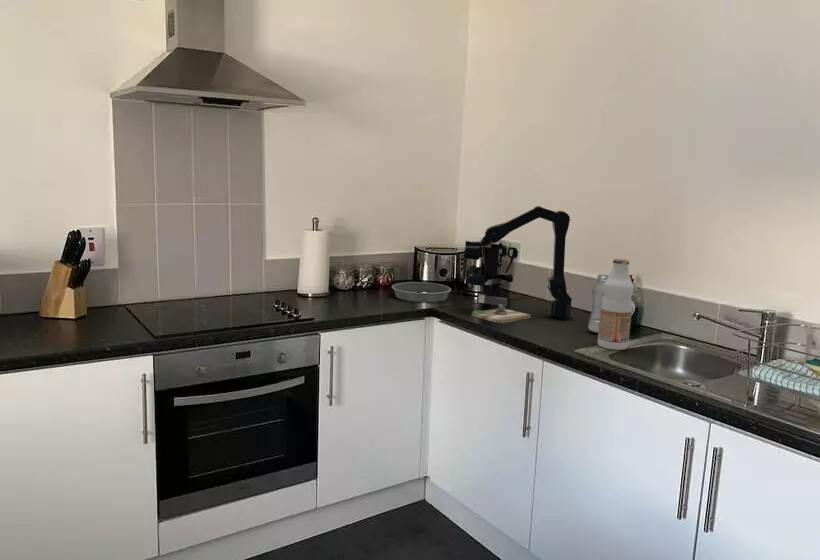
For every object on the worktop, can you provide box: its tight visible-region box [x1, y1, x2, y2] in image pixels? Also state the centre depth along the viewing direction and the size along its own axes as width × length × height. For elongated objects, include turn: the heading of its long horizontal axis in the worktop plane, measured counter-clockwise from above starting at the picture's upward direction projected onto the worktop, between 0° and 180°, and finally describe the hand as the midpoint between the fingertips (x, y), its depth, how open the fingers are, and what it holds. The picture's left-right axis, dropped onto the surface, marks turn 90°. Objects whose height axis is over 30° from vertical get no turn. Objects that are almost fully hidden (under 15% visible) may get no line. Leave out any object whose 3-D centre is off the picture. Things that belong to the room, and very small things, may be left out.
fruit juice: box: [597, 258, 635, 351], centre depth 217 cm, size 9×9×28 cm
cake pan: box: [391, 281, 452, 303], centre depth 283 cm, size 25×25×4 cm
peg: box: [477, 294, 508, 311], centre depth 255 cm, size 11×2×4 cm, turn 60°
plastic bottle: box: [587, 274, 609, 334], centre depth 235 cm, size 6×7×20 cm
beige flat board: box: [470, 308, 531, 324], centre depth 254 cm, size 16×18×2 cm
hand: (489, 301), depth 258 cm, fingers closed
